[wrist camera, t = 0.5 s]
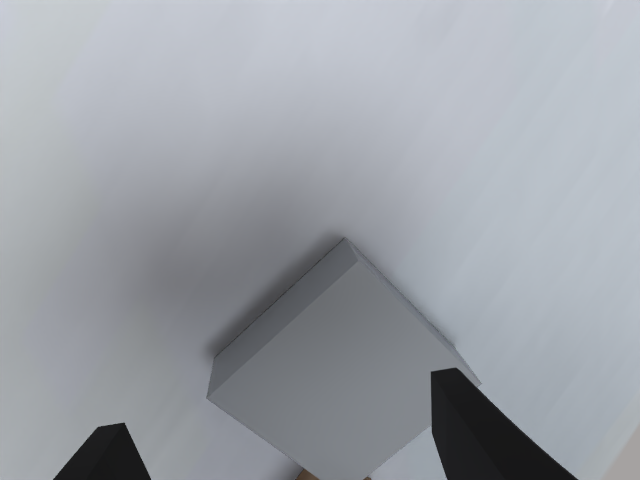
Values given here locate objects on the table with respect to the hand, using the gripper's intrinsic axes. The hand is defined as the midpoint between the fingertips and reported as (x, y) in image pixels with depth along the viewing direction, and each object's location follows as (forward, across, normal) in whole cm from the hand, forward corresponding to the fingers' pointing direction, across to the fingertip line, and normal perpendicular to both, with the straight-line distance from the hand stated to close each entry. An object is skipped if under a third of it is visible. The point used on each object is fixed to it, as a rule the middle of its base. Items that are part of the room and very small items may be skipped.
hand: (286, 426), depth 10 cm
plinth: (+10, -2, +7) cm, 12 cm away
